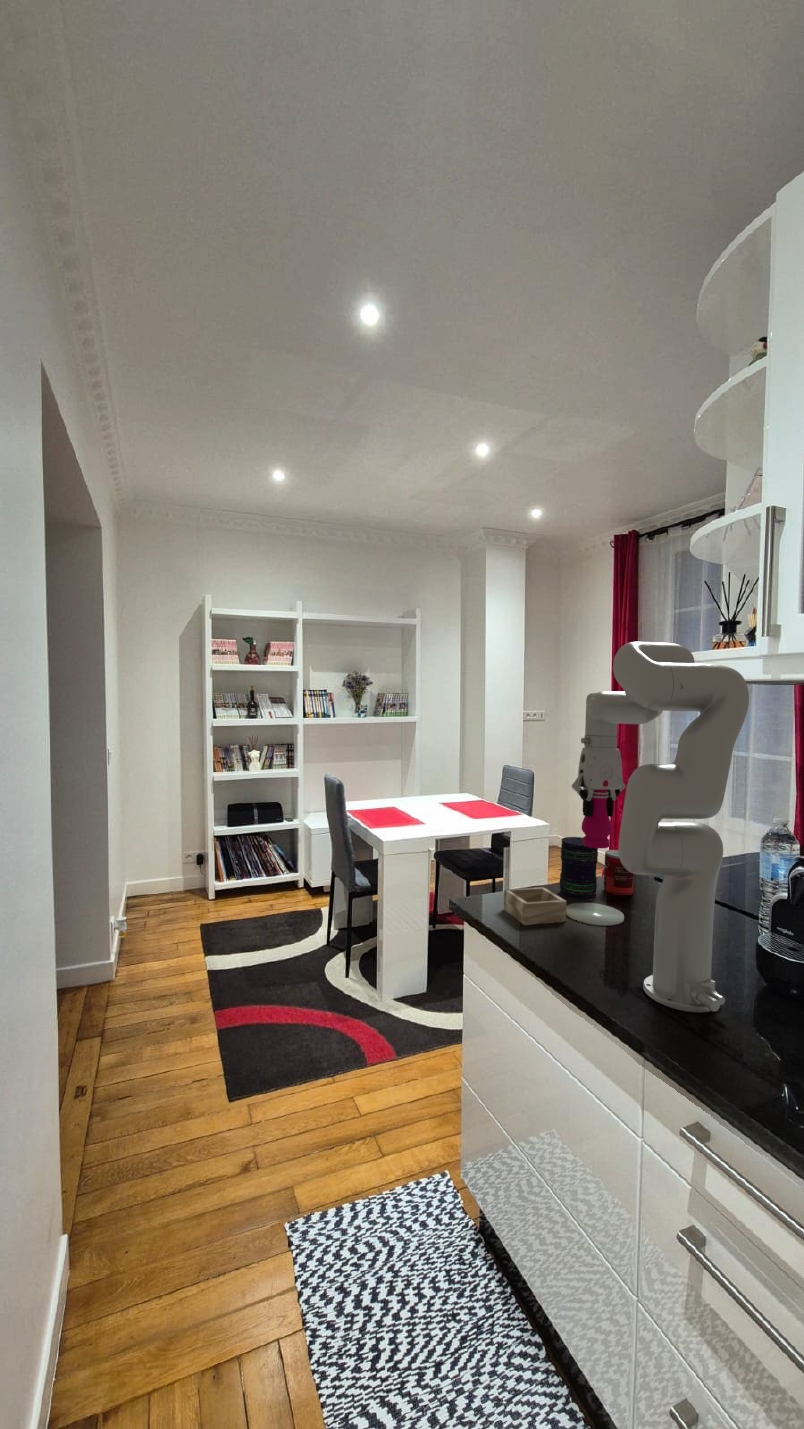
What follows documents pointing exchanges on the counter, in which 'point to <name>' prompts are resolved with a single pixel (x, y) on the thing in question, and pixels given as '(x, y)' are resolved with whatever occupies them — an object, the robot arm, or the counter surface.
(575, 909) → the coaster
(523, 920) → the box
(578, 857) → the storage jar
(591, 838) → the pepper mill
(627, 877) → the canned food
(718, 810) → the robot arm
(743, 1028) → the counter surface
